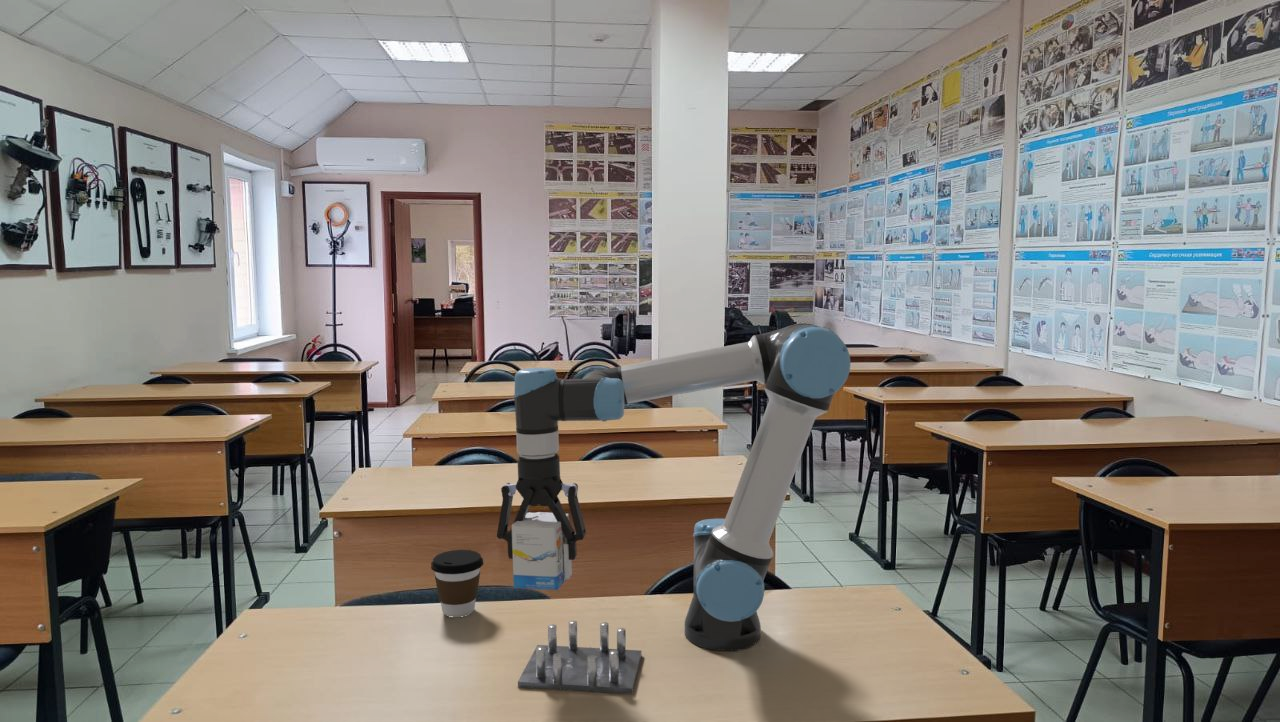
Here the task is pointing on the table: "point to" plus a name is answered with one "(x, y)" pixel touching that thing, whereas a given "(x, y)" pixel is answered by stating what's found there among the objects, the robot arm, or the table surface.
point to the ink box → (538, 552)
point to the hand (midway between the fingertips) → (543, 575)
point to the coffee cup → (457, 580)
